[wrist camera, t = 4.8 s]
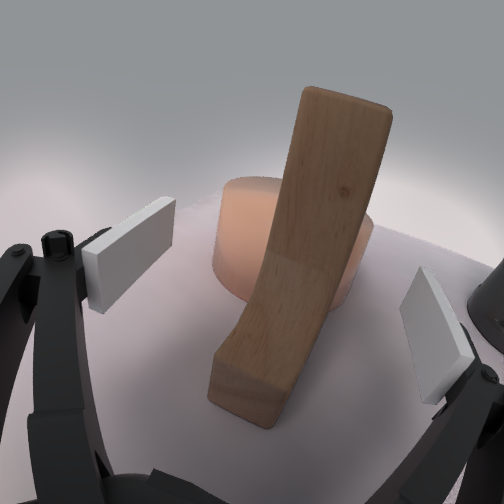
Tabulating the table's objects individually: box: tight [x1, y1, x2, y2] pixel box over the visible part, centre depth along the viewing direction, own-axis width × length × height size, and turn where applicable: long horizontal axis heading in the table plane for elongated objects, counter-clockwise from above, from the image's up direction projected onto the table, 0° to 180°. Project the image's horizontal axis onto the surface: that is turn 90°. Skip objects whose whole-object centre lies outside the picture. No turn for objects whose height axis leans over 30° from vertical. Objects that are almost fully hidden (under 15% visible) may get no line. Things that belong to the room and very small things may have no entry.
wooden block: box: [207, 86, 393, 429], centre depth 16 cm, size 9×4×18 cm, turn 154°
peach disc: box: [212, 177, 374, 312], centre depth 32 cm, size 15×15×8 cm
